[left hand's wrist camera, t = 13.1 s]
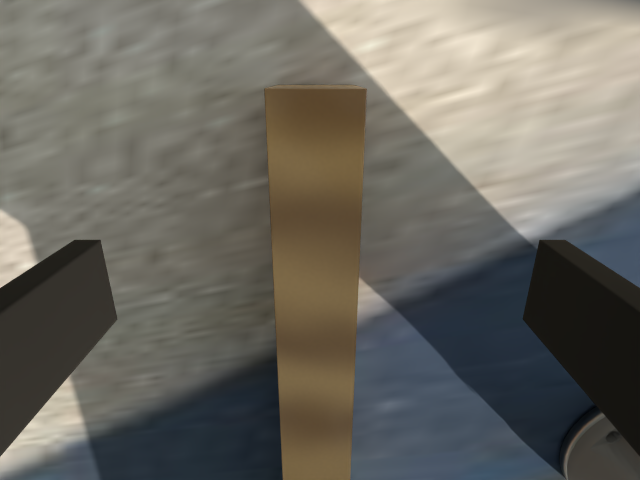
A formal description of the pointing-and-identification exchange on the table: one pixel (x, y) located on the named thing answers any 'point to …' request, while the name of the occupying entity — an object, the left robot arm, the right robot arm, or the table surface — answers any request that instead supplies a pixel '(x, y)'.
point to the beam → (316, 268)
